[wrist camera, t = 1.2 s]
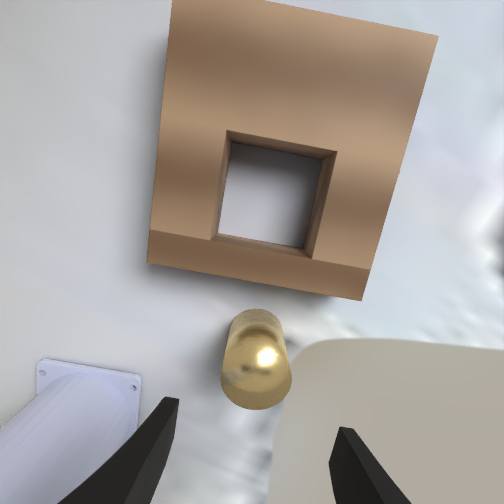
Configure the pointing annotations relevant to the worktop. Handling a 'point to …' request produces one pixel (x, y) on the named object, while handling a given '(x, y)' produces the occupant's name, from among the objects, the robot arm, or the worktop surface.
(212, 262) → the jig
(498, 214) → the worktop surface
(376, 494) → the robot arm
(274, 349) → the gold rounded cylinder
